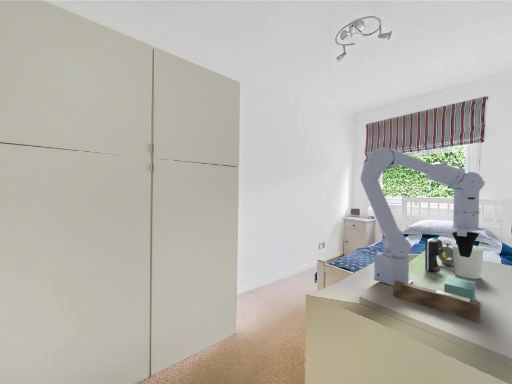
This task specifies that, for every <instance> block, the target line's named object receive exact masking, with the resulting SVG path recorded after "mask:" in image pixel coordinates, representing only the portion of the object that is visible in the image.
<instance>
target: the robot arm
mask: <svg viewBox="0 0 512 384" xmlns="http://www.w3.org/2000/svg"><path fill="white" fill-rule="evenodd" d="M393 166H401V167H404V168H407V169H410V170H414V171H416V172H420V173H423V174H425V176H426V178H427V179H428V180H431V181H433V182H435V183H439V184H442V185H444V186H448V187H450V188H451V189H452V190H453V220H452V221H453V225H452V229H454V230H456V231H453V232H452V236H453V238H454V240H455V241H456V244H457V245H458V249H459V253H460V256H462V257H468V258H469V257H470V255H471V253H472V249H473V246H475V242H476V240H477V238H478V236H479V235H480V233H479V232H478V231H484V230H485V227H481V226H480V225H479V222H480V221H479V218H480V217H479V215H480V212H479V211H480V210H479V209H480V191H481V190H482V189H483V187H484V186H485V180H483V177H482V176H480V174H479V173H477V172H473V171H468V172H467V171H465V168H462V167H455V166H452V165H448V162H447V161H436V162H434V163H433V162H432V163H430V162H427V161H425V160H422V159H419V158H417V157H414V156H412V155H409V154H406V153H404V152H401V151H398V150H396V149H389V148H388V147H381V146H380V147H378V148H376V149H374V150H373V151H372V152H370V153H369V154H368V155H367V156H366V158H365V159H364V160H363V166H362V170H361V173H360V182H361V184H362V187H363V189H364V192H365V194H366V197H367V199H368V202H369V204H370V206H371V209H372V211H373V214H374V217H375V218H376V221H377V223H378V225H379V228H380V234H381V236H382V238H381V243H382V246H383V247H384V249H383V251H378V252H377V253H376V254H375V256H374V276H373V277H374V278H373V280H374V281H376V282H379V283H384V284H387V285H390V286H393V287H394V281H396V280H397V281H401V282H405V283H408V284H413V282H414V281H413V279H410V278H409V276H410V275H409V267H410V265H409V264H410V263H409V261H410V260H409V255H410V254H411V251H412V245H411V243H410V241H408V240H407V238H405V237H404V235H403V232H402V231H401V230H400V228H399V227H398V224H397V223H396V220H395V217H394V215H393V213H392V211H391V208H390V205H389V203H388V201H387V198H386V197H385V194H384V192H383V189H382V187H381V184H380V182H379V178H380V177H381V175H382V174H383V172H384V170H386V168H388V167H393Z"/></svg>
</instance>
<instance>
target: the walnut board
mask: <svg viewBox="0 0 512 384" xmlns="http://www.w3.org/2000/svg"><path fill="white" fill-rule="evenodd" d="M393 297H395V298H399V299H403V300H406V301H409V302H412V303H415V304H418V305H422V306H425V307H428V308H430V309H434V310H438V311H441V312H445V313H448V314H451V315H454V316H458V317H460V318H464V319H467V320H470V321H473V322H477V323H480V321H481V305H482V304H481V303H482V302H480V301H476V300H475V301H473V300H470V299H469V298H465V297H461V296H458V295H454V294H450V293H446V292H444V291H441V290H438V289H437V290H434V289H430V288H427V287H423V286H419V285H416V284H413V283H411V284H408V283H405V282H401V281H397V280H396V281H394V286H393Z"/></svg>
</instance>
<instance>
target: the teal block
mask: <svg viewBox="0 0 512 384" xmlns="http://www.w3.org/2000/svg"><path fill="white" fill-rule="evenodd" d="M443 285H444V286H443V287H444V290H443V292H446V293H450V294H454V295H458V296H461V297H465V298H469V299H470V300H473V301H476V282H475V281H472V280H466V279H462V278H458V277H451V276H447V278H446V280H445V282H444V284H443Z"/></svg>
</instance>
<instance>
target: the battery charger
mask: <svg viewBox="0 0 512 384" xmlns="http://www.w3.org/2000/svg"><path fill="white" fill-rule="evenodd" d="M424 245H425V247H424V250H425V251H424V257H425V259H424V267H425V268H424V269H425V271H427V272H434V273H436V272H438V271H439V270H440V269H441V266H440V265H439V263H438V261H437V260H438V255H440V254H442V252H443V247H444V246H443V240H441V239H437V238H429V239H426V240H425V244H424ZM443 253H444V252H443Z"/></svg>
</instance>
